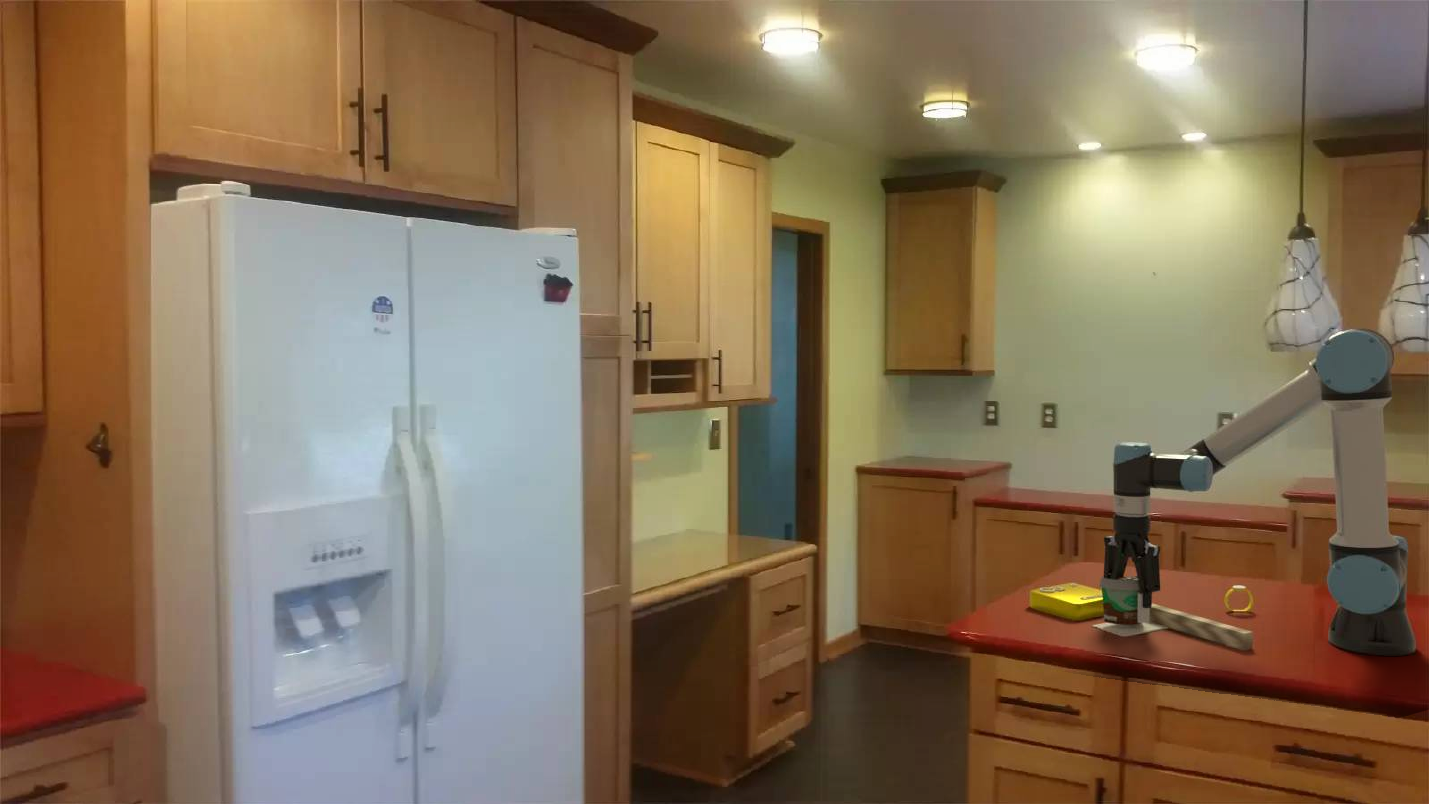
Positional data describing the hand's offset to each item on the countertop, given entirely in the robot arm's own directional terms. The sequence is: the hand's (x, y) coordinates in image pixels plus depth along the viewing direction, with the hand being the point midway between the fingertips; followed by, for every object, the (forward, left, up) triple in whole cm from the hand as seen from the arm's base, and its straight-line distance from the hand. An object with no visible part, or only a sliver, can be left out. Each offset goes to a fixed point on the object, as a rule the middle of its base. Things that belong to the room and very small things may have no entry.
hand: (1130, 617), depth 233 cm
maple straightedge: (-8, -8, -2) cm, 11 cm away
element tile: (+18, 0, -3) cm, 18 cm away
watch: (-3, -31, -2) cm, 31 cm away
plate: (0, 0, -2) cm, 2 cm away
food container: (0, 0, -1) cm, 1 cm away
